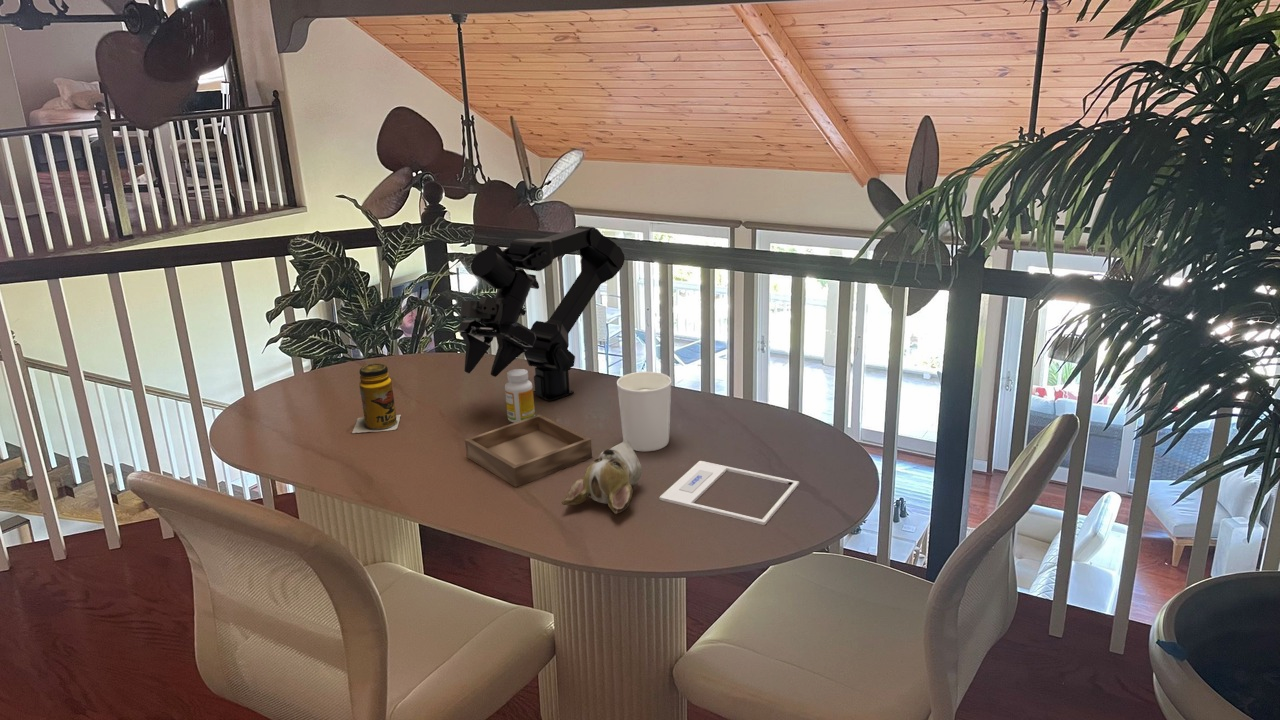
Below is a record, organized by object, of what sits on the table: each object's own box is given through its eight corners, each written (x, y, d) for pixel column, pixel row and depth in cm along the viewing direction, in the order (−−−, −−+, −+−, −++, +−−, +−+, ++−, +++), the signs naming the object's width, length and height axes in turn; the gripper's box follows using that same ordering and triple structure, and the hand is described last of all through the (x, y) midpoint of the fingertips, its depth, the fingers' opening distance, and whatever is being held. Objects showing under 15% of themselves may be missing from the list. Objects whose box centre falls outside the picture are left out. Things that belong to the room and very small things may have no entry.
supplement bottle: (537, 412, 179) (534, 367, 175) (532, 423, 174) (528, 376, 170) (511, 412, 179) (507, 367, 176) (504, 423, 174) (500, 377, 171)
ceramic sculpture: (655, 434, 145) (617, 480, 133) (658, 481, 149) (621, 529, 136) (596, 427, 149) (554, 470, 137) (601, 472, 153) (560, 518, 140)
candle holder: (609, 448, 162) (606, 386, 158) (635, 427, 170) (632, 368, 166) (658, 457, 157) (656, 394, 153) (682, 436, 166) (680, 375, 162)
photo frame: (699, 459, 155) (799, 480, 146) (699, 465, 155) (798, 486, 146) (659, 496, 143) (764, 521, 134) (659, 502, 143) (764, 527, 134)
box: (540, 431, 170) (539, 414, 169) (592, 457, 158) (591, 439, 157) (466, 457, 160) (464, 439, 159) (516, 487, 149) (514, 468, 148)
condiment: (396, 430, 173) (388, 372, 169) (351, 434, 172) (342, 375, 168) (401, 415, 180) (393, 359, 176) (357, 419, 179) (349, 363, 175)
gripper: (451, 281, 174) (420, 354, 170) (504, 280, 160) (472, 359, 156) (495, 306, 181) (466, 377, 177) (550, 307, 167) (520, 384, 164)
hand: (479, 374), depth 168 cm, fingers open, 9 cm apart
